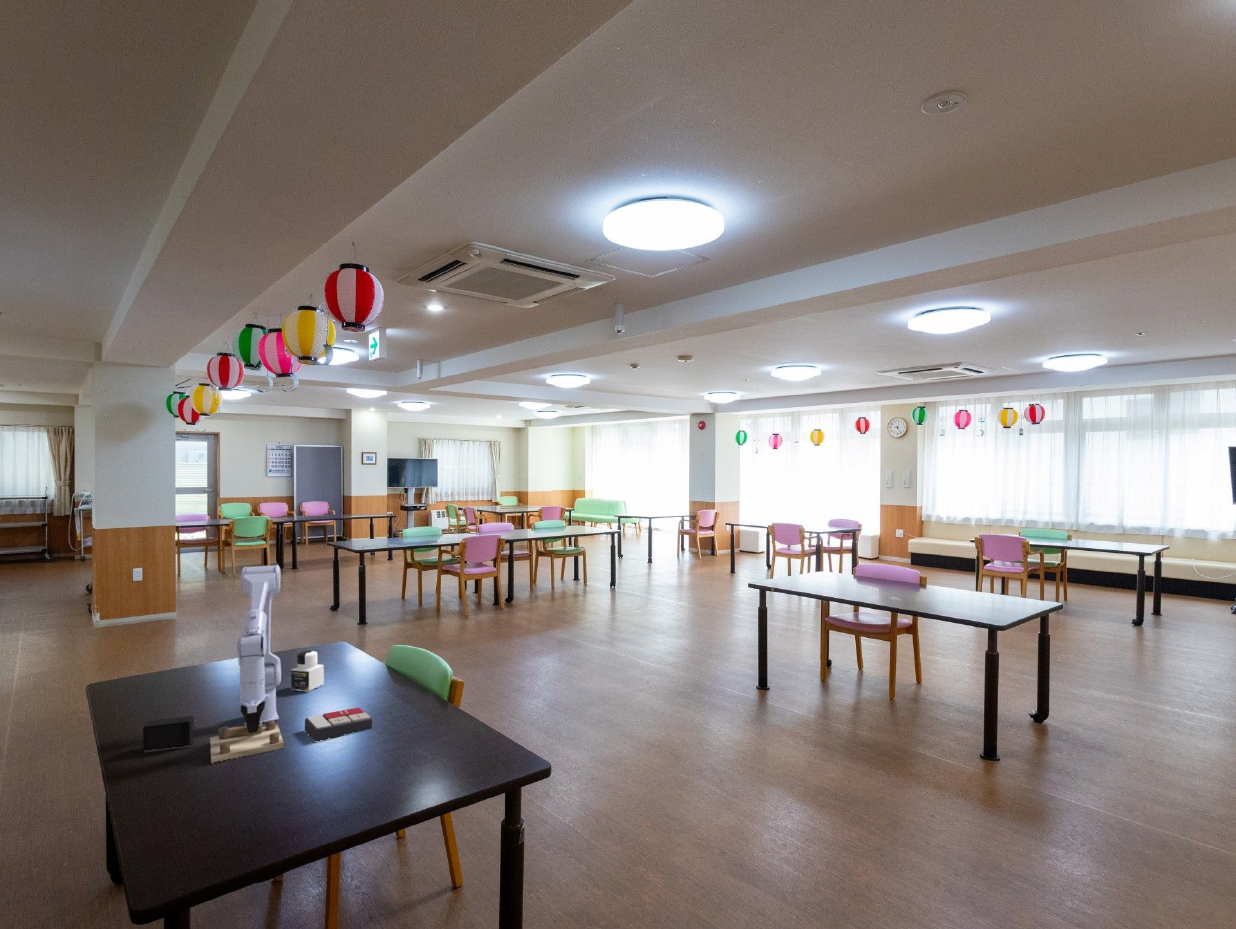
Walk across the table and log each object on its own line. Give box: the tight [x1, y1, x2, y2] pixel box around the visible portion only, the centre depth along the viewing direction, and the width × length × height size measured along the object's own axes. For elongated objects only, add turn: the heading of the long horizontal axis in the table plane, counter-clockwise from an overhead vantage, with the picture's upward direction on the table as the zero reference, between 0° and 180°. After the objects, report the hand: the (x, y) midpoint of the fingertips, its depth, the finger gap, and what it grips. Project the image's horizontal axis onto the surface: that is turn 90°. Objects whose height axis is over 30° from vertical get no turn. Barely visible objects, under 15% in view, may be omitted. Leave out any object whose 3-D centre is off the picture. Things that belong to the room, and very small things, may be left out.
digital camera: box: [142, 715, 195, 751], centre depth 176 cm, size 10×5×7 cm, turn 110°
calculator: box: [304, 707, 373, 742], centre depth 186 cm, size 11×4×15 cm
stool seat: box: [209, 720, 285, 764], centre depth 175 cm, size 15×16×4 cm
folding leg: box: [218, 723, 263, 739], centre depth 178 cm, size 10×2×2 cm, turn 112°
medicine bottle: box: [290, 650, 325, 691], centre depth 222 cm, size 7×7×12 cm
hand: (253, 732), depth 178 cm, fingers closed
